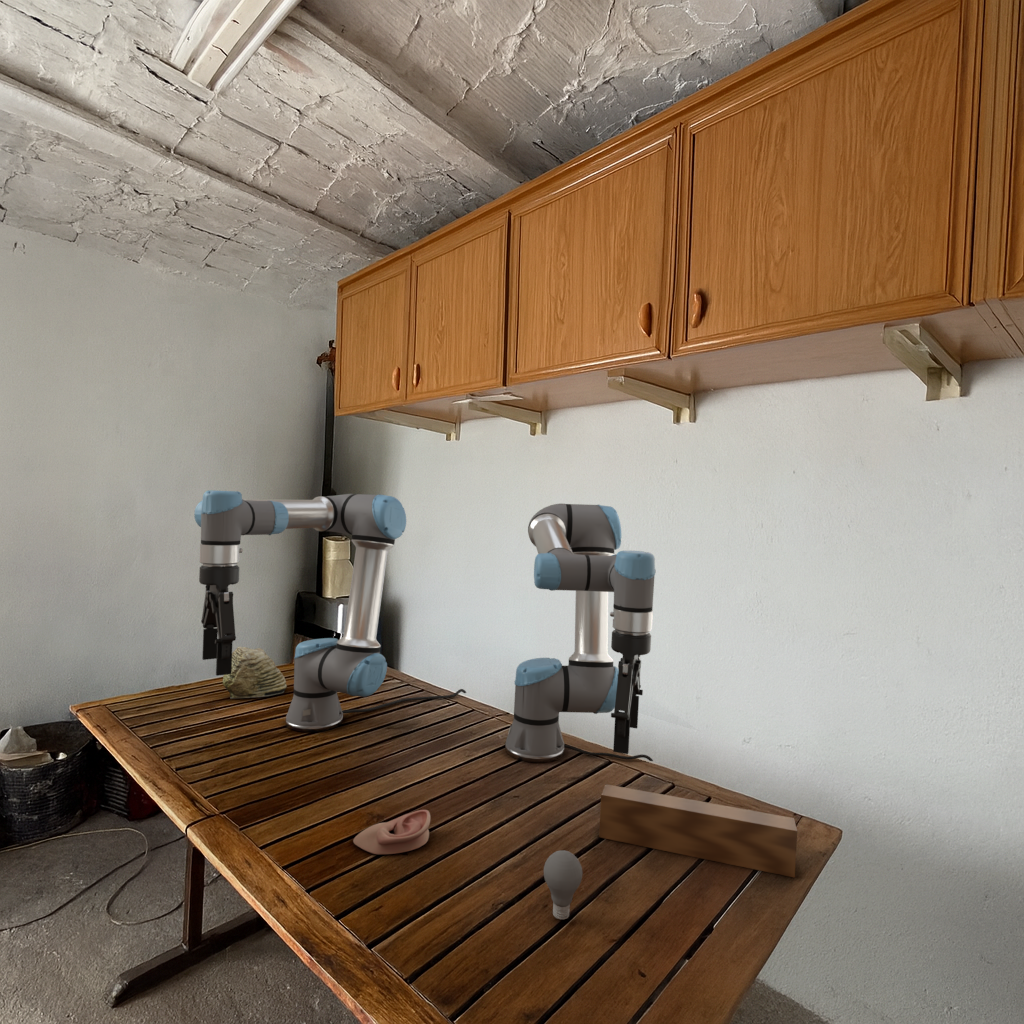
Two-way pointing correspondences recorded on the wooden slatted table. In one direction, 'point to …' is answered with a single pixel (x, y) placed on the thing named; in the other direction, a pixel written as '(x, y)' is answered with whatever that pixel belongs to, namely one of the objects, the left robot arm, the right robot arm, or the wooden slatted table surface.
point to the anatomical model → (396, 834)
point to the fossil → (253, 675)
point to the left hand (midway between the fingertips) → (216, 666)
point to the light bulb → (562, 880)
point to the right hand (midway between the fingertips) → (625, 739)
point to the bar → (699, 829)
